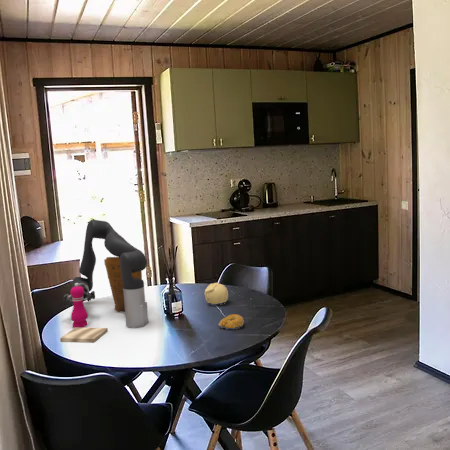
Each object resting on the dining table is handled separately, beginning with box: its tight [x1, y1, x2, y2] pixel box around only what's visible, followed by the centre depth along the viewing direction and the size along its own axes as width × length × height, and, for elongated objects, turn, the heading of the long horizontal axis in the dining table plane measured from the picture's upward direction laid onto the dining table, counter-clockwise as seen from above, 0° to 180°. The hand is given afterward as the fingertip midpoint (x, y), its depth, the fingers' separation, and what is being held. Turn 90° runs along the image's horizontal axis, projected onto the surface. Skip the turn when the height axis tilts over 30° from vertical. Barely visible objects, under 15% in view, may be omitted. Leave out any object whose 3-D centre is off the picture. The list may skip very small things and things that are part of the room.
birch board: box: [60, 327, 109, 343], centre depth 203 cm, size 15×13×2 cm
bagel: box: [218, 313, 245, 328], centre depth 206 cm, size 10×11×5 cm
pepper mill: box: [69, 283, 89, 328], centre depth 216 cm, size 7×7×20 cm
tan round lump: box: [204, 282, 229, 304], centre depth 240 cm, size 12×12×11 cm
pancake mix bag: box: [103, 256, 143, 313], centre depth 234 cm, size 7×19×28 cm, turn 72°
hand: (78, 300), depth 219 cm, fingers open, 8 cm apart
